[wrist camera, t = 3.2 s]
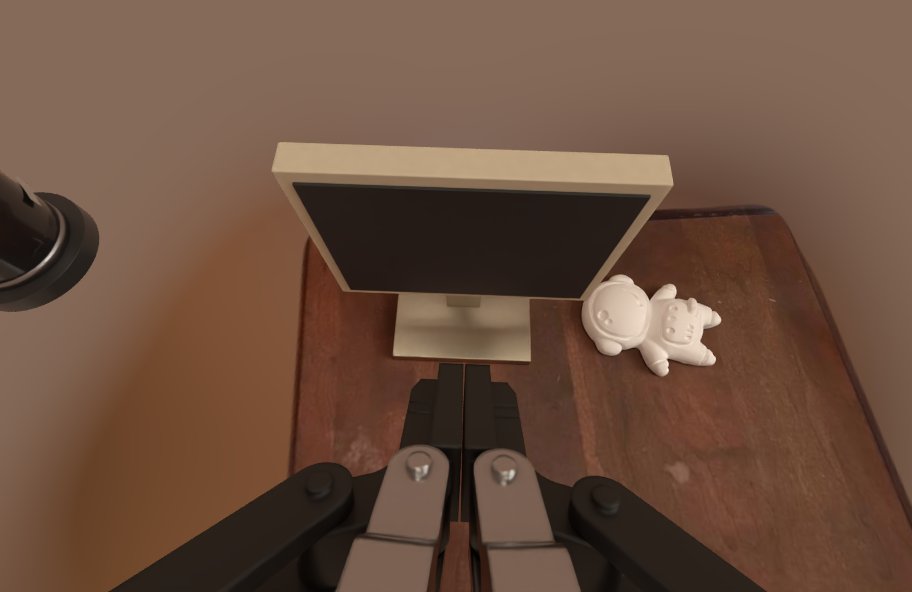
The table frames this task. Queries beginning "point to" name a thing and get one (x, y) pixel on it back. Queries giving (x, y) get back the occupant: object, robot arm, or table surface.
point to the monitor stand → (462, 329)
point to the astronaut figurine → (648, 324)
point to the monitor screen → (470, 216)
